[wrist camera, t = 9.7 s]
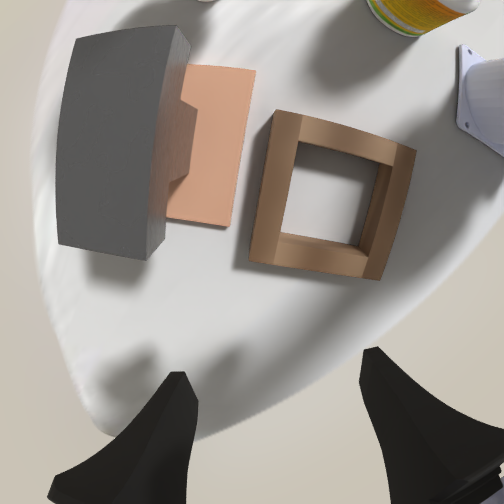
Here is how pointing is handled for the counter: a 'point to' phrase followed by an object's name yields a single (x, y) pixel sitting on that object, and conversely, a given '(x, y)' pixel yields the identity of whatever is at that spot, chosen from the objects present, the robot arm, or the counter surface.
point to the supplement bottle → (419, 14)
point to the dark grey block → (122, 139)
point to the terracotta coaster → (213, 143)
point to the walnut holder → (379, 214)
